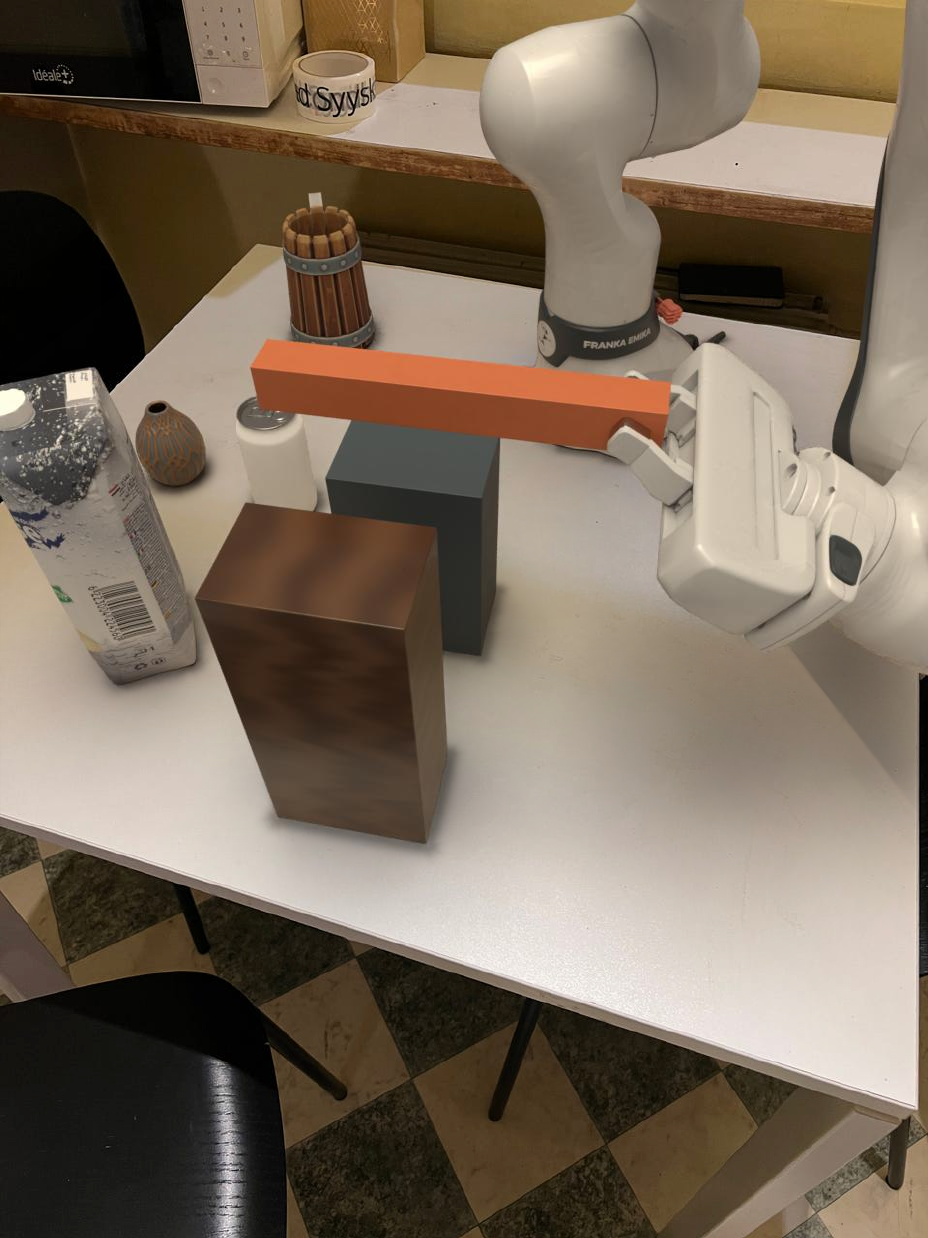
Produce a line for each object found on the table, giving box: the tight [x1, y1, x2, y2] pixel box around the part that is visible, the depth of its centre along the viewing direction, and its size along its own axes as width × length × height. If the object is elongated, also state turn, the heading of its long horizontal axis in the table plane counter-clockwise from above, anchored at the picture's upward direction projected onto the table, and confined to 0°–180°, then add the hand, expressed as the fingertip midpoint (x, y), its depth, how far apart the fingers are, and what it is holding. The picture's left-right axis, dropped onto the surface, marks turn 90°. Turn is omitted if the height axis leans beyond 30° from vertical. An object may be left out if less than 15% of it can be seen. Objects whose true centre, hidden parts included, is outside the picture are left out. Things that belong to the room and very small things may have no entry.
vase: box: [134, 399, 207, 487], centre depth 91 cm, size 7×7×9 cm
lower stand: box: [324, 420, 501, 657], centre depth 74 cm, size 12×8×19 cm, turn 79°
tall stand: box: [194, 501, 448, 844], centre depth 59 cm, size 12×8×26 cm, turn 79°
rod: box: [249, 338, 671, 451], centre depth 50 cm, size 24×3×3 cm, turn 79°
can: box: [235, 394, 318, 511], centre depth 86 cm, size 6×6×12 cm
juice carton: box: [0, 366, 197, 685], centre depth 69 cm, size 9×10×27 cm
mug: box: [281, 192, 375, 349], centre depth 107 cm, size 16×11×15 cm
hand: (617, 407), depth 49 cm, fingers closed on rod, 3 cm apart
